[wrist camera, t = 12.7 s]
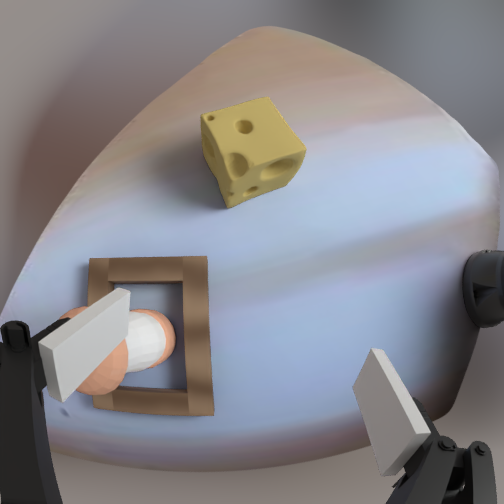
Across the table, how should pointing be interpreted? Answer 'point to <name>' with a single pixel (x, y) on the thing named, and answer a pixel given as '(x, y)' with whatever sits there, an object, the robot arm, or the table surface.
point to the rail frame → (195, 332)
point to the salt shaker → (131, 350)
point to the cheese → (250, 149)
